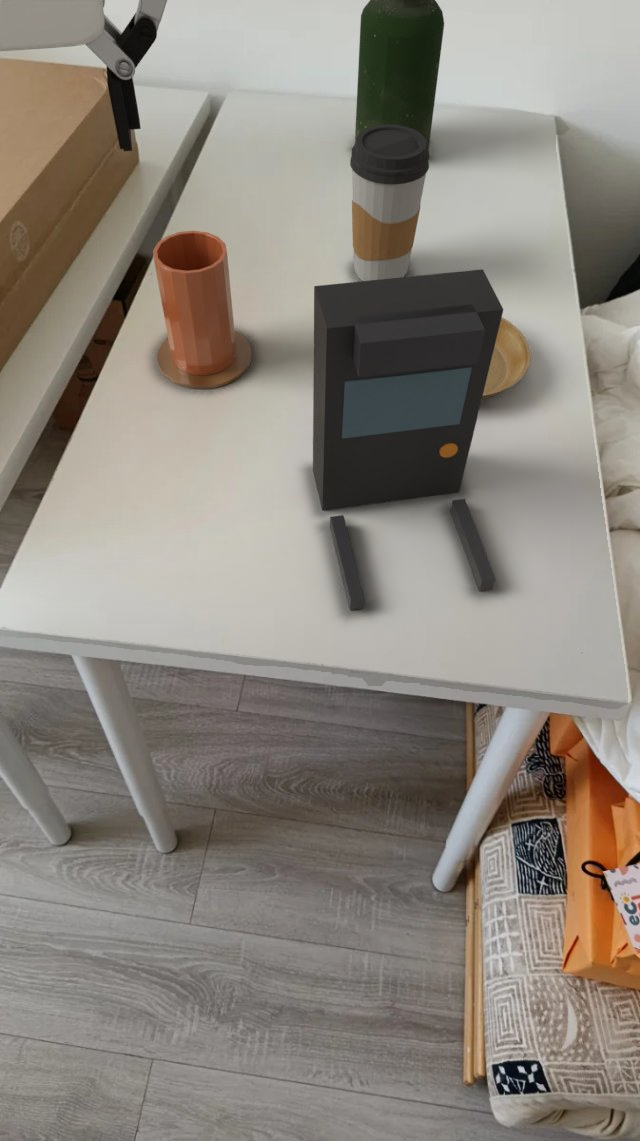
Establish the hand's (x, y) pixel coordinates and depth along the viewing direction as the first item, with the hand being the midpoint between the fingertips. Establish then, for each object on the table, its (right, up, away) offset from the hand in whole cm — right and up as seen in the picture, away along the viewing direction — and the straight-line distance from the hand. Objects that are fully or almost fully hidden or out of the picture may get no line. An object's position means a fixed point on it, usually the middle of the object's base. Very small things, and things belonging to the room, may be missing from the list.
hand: (47, 146), depth 48 cm
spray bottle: (+27, +33, +61) cm, 74 cm away
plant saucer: (+31, -5, +34) cm, 47 cm away
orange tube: (+5, -3, +34) cm, 35 cm away
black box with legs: (+24, -22, +22) cm, 39 cm away
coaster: (+5, -4, +35) cm, 35 cm away
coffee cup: (+24, +9, +44) cm, 51 cm away
